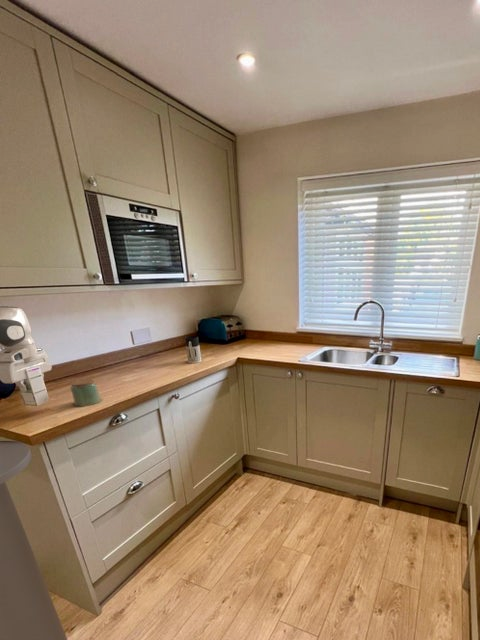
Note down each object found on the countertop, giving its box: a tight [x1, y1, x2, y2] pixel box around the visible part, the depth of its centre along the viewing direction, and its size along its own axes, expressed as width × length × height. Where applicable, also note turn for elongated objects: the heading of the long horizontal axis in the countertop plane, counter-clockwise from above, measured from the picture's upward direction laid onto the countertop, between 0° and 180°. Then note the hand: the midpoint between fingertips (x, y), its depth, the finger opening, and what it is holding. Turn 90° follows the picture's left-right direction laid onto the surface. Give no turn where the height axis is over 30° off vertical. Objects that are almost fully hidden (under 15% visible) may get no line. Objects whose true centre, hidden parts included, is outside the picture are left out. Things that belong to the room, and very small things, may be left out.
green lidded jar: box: [69, 378, 101, 407], centre depth 137 cm, size 9×9×9 cm
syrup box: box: [18, 366, 50, 407], centre depth 125 cm, size 6×6×14 cm
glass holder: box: [184, 335, 203, 364], centre depth 199 cm, size 9×14×15 cm, turn 10°
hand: (32, 388), depth 125 cm, fingers closed on syrup box, 6 cm apart
